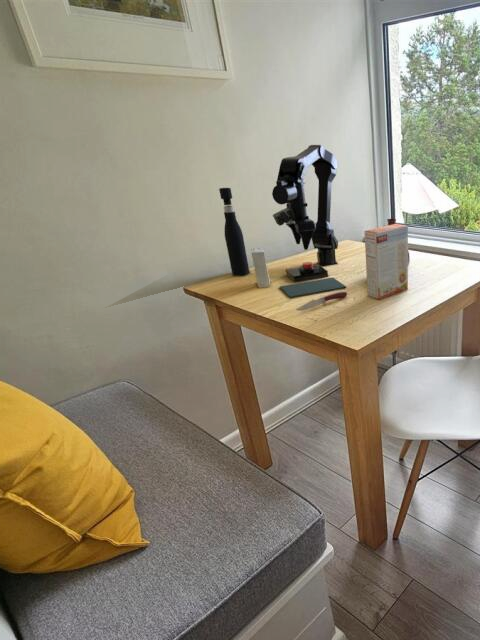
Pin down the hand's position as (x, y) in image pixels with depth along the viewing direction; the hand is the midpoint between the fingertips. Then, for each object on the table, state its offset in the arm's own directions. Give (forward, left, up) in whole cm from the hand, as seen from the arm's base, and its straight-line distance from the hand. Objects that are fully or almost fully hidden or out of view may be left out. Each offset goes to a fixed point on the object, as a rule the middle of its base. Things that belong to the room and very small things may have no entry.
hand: (302, 246), depth 152 cm
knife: (+5, +31, -12) cm, 33 cm away
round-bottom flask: (-28, +16, -11) cm, 34 cm away
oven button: (-1, +1, -7) cm, 8 cm away
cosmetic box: (+16, +1, -11) cm, 20 cm away
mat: (+2, +13, -11) cm, 17 cm away
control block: (-1, -1, -11) cm, 11 cm away
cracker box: (-18, +31, -11) cm, 37 cm away
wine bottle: (+20, -17, -11) cm, 29 cm away
